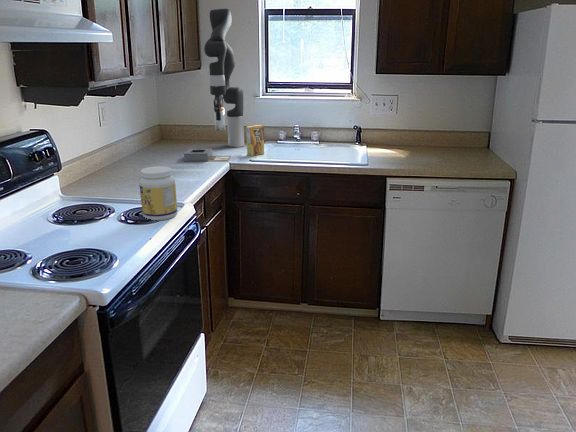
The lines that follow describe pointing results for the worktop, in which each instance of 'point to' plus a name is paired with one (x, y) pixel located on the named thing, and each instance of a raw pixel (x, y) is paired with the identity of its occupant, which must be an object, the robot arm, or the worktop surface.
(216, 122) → the clear glass
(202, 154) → the housing
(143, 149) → the worktop surface
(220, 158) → the board
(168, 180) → the supplement tub
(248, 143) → the candy box
